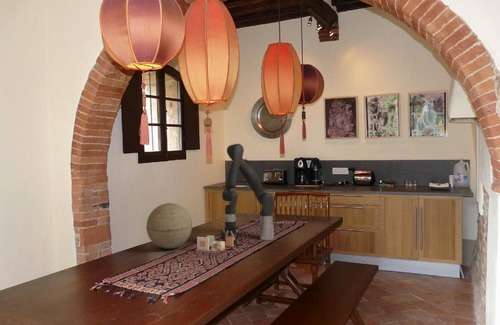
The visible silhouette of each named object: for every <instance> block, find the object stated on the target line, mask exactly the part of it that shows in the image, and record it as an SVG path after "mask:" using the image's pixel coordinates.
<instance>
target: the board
mask: <svg viewBox="0 0 500 325" xmlns="http://www.w3.org/2000/svg"><path fill="white" fill-rule="evenodd" d="M206 237H207V236H206ZM206 237H203V236H196V245H197V246H196V247H197V248H196V249H195V252H201V253H210V252H212V251H211V248H210V246H209V238H206Z"/></svg>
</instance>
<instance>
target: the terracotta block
mask: <svg viewBox="0 0 500 325" xmlns="http://www.w3.org/2000/svg"><path fill="white" fill-rule="evenodd" d="M229 246H230V247H231V248H233V247H235V246H234V239H233V237H232V236H228V237H226V244H225V247H229Z"/></svg>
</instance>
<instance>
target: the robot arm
mask: <svg viewBox="0 0 500 325" xmlns="http://www.w3.org/2000/svg"><path fill="white" fill-rule="evenodd" d="M244 150H245V149H244V146H243V145H242V144H241V143H233V144H230V145H228V146H227V148H226V153H227V155H228V157H229V158H230V159H231V161H232V162H231V165H230V168H229V170H228V172H227V174H226V184H225V186H224V189H223V191H222V195H221V197H222V200H223V201H225V202H229V204H226V205H225V206H224V226H225V227H224V228H222V229H220V234H221V238H222V239H224V241H225V245H226V237H228V236H229V235H232V237H233V239H234V246H233V247H235V246H236V245H237V240H239V239H240V235H241V230H240V229H238V230H237V229H236V227H237V215H236V206H237V202H238V198H239V196H238V192H237V191H235V190H232V189H235V188H236V187H237V183H238V175H239V172H240V173H241V175H242V177H243V178H244V180H245V181H246V183H247V185H248V186H249V187H250V189H251V190H252V192H253V194H254V195H255V198H256V200H257V202H258V203H259V204H260V205H261V210H260V211H259V240H261V241H272V240H273V239H274V238H275V237H274V236H275V232H274V231H275V230H274V226H275V225H274V223H273V222H274V220H273V219H274V218H273V217H274V216H273V215H274V214H273V213H274V212H275V211H274V208H275V200H274V199H275V198H274V195H273V194H271V193H269V192H267V191H265V189H264V188H263V186H262V183H261V181H260V178H259V175H258V173H257V171H256V169H254V167H253V166H252V165H250V164H249V163H248V162H247V161H246V160H244V158H243V157H244V156H243V155H244V152H245V151H244ZM225 234H226V235H225ZM236 234H237V235H236ZM236 236H237V237H236Z"/></svg>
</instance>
